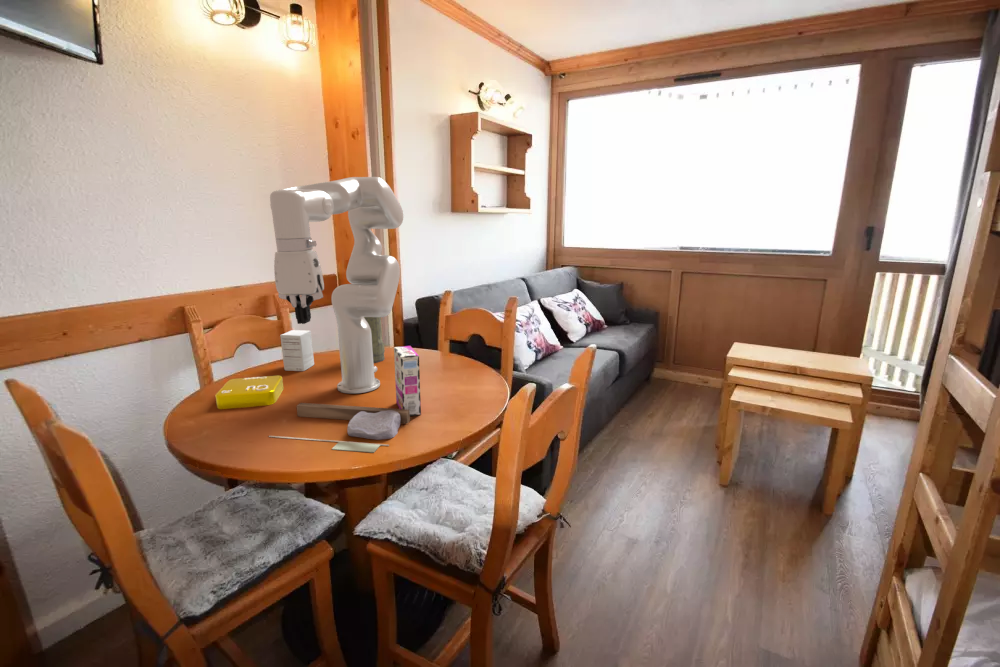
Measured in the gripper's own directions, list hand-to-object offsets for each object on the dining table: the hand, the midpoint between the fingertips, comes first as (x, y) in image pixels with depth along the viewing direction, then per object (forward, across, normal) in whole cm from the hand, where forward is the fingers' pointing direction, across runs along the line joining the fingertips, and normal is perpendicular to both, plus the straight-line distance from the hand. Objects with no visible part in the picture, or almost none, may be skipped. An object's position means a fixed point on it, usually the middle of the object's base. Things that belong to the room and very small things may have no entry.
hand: (304, 322), depth 115 cm
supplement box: (+28, +28, -41) cm, 57 cm away
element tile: (+27, +26, -13) cm, 40 cm away
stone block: (+26, -17, +5) cm, 32 cm away
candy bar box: (+27, -21, -10) cm, 36 cm away
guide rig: (+26, -9, +5) cm, 28 cm away
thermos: (+28, +6, -53) cm, 61 cm away
